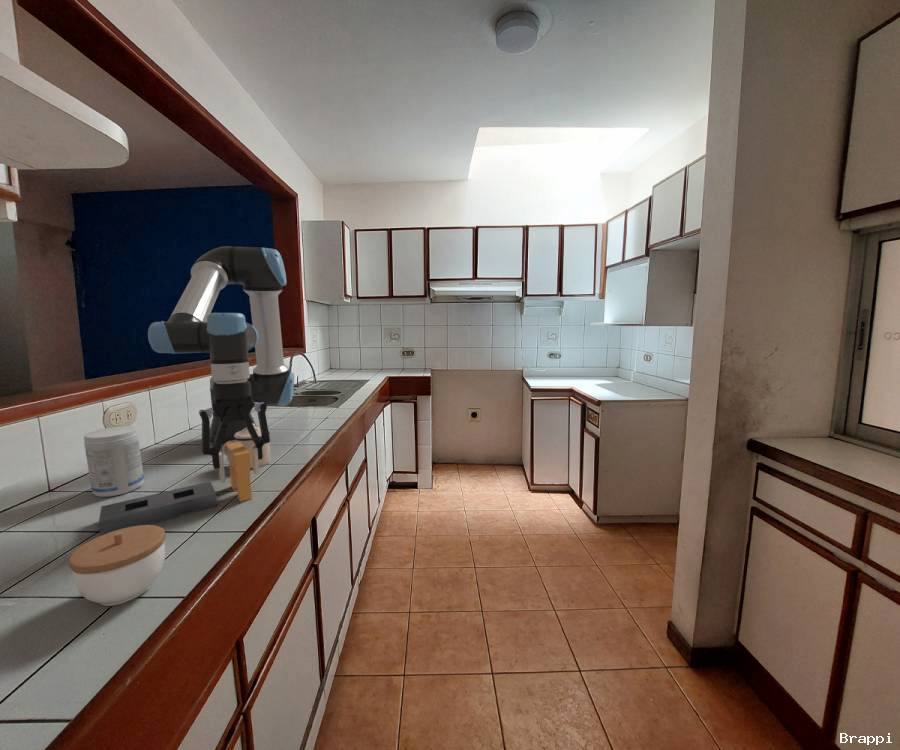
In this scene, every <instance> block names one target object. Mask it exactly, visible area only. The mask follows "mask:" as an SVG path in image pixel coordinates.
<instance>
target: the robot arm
mask: <svg viewBox="0 0 900 750" xmlns="http://www.w3.org/2000/svg"><path fill="white" fill-rule="evenodd" d="M190 276H191V277H190V280H188V281H189V282H188V283H187V285H186V287H185V289H184V290H183V293H182V294H181V296H180V298H179V300H178V302H177V304H176V306H175V308H174V309H173V311H172V313H171V315H170V316H169V318H168V320H167V321H164V320H161V321H154V322H152V323H151V324H150V325H149V327H148V330H147V339H148V343H149V345H150V347H151V349H152V350H153V351H154V352H156V353H157V354H158V353H159V354H173V355H176V354H192V353H193V354H195V353H197V354H198V353H199V354H200V353H201V354H202V353H209V357H210V368H211V370H210V371H211V377H210V379H209V392H210V403H211V407H209V408H207V409H206V408H205V409H199V411H198V414H199V416H200V419H201V452H202V454H203V455H204V456H207V455H208V456H211V461H212V467H213V468H214V470H217V469H218V476H219V481H220V482H221V484H223V483H224V484H225V483H226V472H225V463H224V453H222V452H221V447H222V445H223V443H224V444H225V443H226V442H228V441H233V440H235V439H234V435H235V434H236V433H237V432H239V431H242V430H243V429H245V428H247V430H248V432H249V434H250V436H251V438H252V440H253V442H254V444H255V446H251V449H252V462H253V468H252V471H253V473H254V475H256V476H257V475H260V467H259V463H258V460H260V459H262V458H263V455H262V447H263V445H264V444H266V443H269V444H270V441H271V437H270V434H269V433H270V431H269V426H268V421H267V415H266V412H267V407H269V406H271V407H272V406H277V407H279V406H284V405H285V406H286V405H289V404H291V402H292V400H293V395H294V390H295V389H294V388H295V387H294V386H295V373H294V372H292V371H290V368H289V366H288V365H287V364H285V361H284V351H283V350H284V349H283V339H282V329H281V328H282V327H281V317H280V306H279V305H280V304H279V295H280V294H281V293H282V292H283V287H284V286H287V282H288V281H287V274H286V270H285V264H284V260H283V258H282V255H281V254H280V252H279V251H278V250H277V249H275V248H268V247H254V246H253V247H250V246H231V245H229V246H228V245H227V246H226V245H225V246H224V245H223V246H218V247H216V248H213V249H211V250H209V251H208V252H205V253H204V254H203V255H200V257H199V258H198V259H197V260H196V261H195V262H194V264H192V267H191V268H190ZM227 285H242V290H243V292H244V293H246V294H247V296H249V304H250V305H249V306H250V313H251V314H250V315H251V322H252V324H250V323H249V322H247V321H246V317H245V315H244V314H243V313H241V312H212V310H213V308H214V305H215V303H216V300H217V298H218V297H219V294H220V291H221V290H223V289H224V288H226V286H227ZM252 349H255V358H256V366H255V367H254V368H253V369H252V373H250V371H251V370H250V365H249V364H250V362H249V351H251V350H252ZM253 409H254V410H255V411H256V413H257V418H258V423H259V427H260V430H261V435H262V438H261V439H260V438H259V436H258V434H257V432H256V430H255V428H254V426H253V424H255V427H258V425H257V423H256V421H255V419H254V417H253V416H252V413H251V412H252V410H253ZM211 419H212V420H211ZM210 420H211V421H210ZM252 423H253V424H252ZM210 442H211V443H212V447H210Z"/></svg>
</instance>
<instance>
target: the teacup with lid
mask: <svg viewBox="0 0 900 750" xmlns="http://www.w3.org/2000/svg"><path fill="white" fill-rule="evenodd" d="M252 424H253V423H252ZM255 424H256V423H255ZM255 424H253V426H254V428H255V430H256V432H257V434H258V436H259V438H260V439H261V438H262V435H261V430H260V426H257V427H255ZM269 435H270V432H269ZM234 439H235V440H233V441H228V442H226V443H224V444H222V445H223V446H222V452H223V455H225V456H226V457H227V449H226V444H229V443H234V442H241V443H242V444H243V446H244V447H245V448H246V449H247V450H248V451H249V452H250V464H251V469H253V462H252V449H251V446H255V444H254V442H253V440H252V438H251V436H250V434H249V432H248V430H247V428H245V429H243V430H242V431H239V432H237V433H236V434H235V435H234ZM270 448H271V446H270V442H269V443H266V444H264V445H263V447H262V455H263V458H262V459H260V460H258V463H259V468H260V467H263V466H265V465H268V464H269V463H271V450H270Z"/></svg>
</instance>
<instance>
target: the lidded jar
mask: <svg viewBox="0 0 900 750" xmlns="http://www.w3.org/2000/svg"><path fill="white" fill-rule="evenodd" d="M166 547H167V546H166V531H165V529H164V528H163V527H162V526H161V527H160V526H158V525H153V524H148V525H140V526H133V527H128V528H124V529H120V530H116V531H113V532H110V533H107V534H105V535H102V536H98V537H95V538H93V539H91V540H89V541H88V542H85V543H84V544H82V545H81V546H79V547H78V548H77V549H76V550H74V551H73V552H72V554H71V555H70V556H69V559H68V566H69V568H70V571H71V577H72V580H73V583H74V585H75V587H76V589H77V591H78V593H79V594H80V595H81V596H82V597H83V598H84V599H86V600H88V601H90V602H92V603H97V604H100V605H101V606H104V607H113V606H117V605H123V604H125V603H128V602H130V601H133V600H135V599H136V598H139V597H140V596H141V595H143V594H144V593H146V592H147V591H148V590H149V589H150V587H151V586H152V584H153V583H154V582H155V580H156V579H157V578H158V576H159V575H160V574H161V572H162V570H163V566H164V565H165V560H166V549H167V548H166Z"/></svg>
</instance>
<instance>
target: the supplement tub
mask: <svg viewBox="0 0 900 750" xmlns="http://www.w3.org/2000/svg"><path fill="white" fill-rule="evenodd" d="M83 438H84V439H83V440H84V441H83V443H84V450H85V456H86V462H87V469H88V473H89V479H90V485H91V493H92V494H93V495H94V496H96V497H100V498H107V497H115V496H120V495H123V494H124V495H125V494H127V493H130V492H133V491H135V490H137V489H139V488H140V487H141V486H143V484H144V482H145V476H144V470H143V469H144V468H143V462H142V456H141V455H142V454H141V448H140V441H139V436H138V432H137V428H136V427H135V426H133V425H132V426H131V425H123V426H112V427H106V428H102V429H98V430H93V431H90V432H86V434H85V435H84V436H83Z"/></svg>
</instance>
